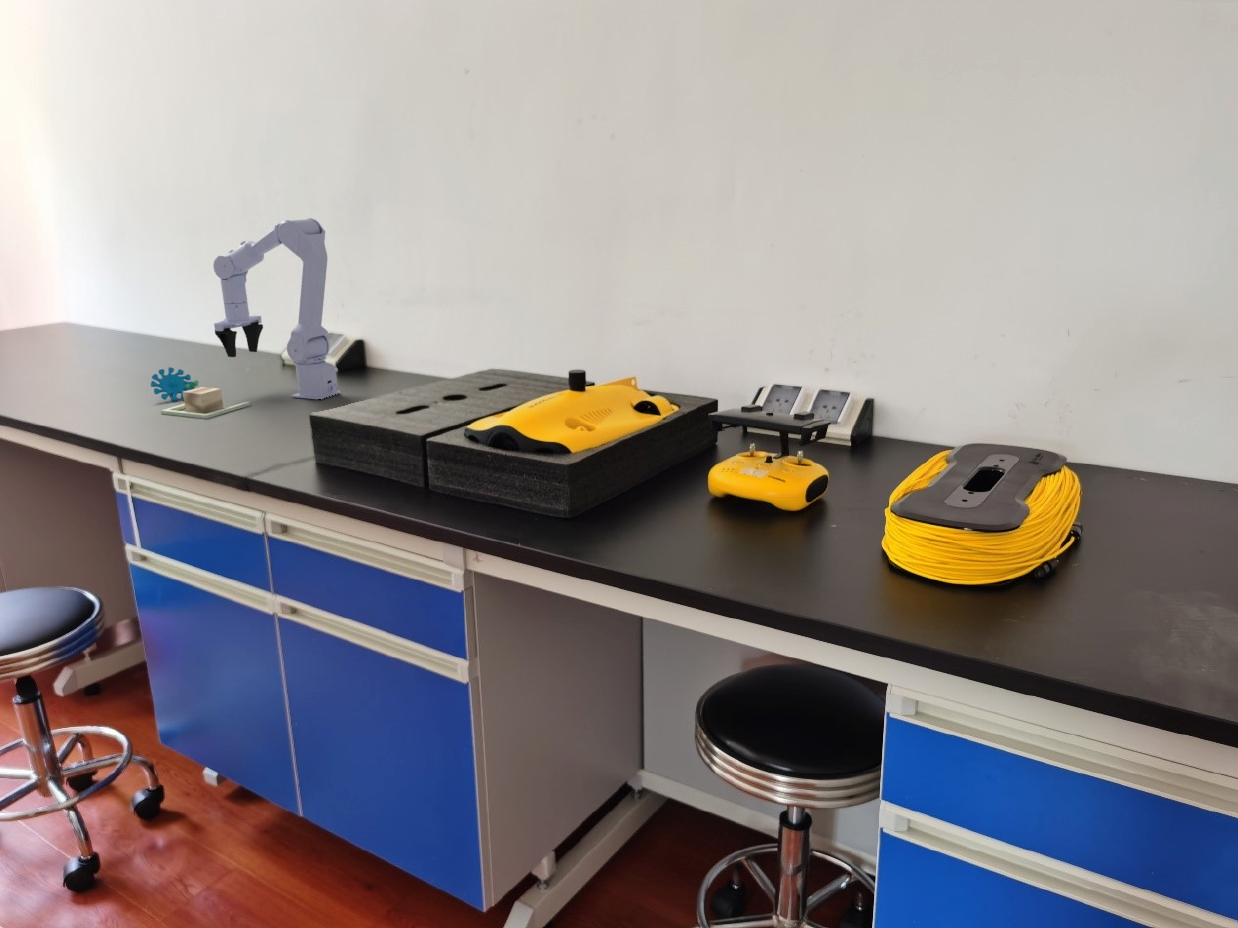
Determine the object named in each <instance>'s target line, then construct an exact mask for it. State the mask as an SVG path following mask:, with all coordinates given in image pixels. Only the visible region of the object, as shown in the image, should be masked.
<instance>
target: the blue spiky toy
mask: <svg viewBox="0 0 1238 928" xmlns="http://www.w3.org/2000/svg"><path fill="white" fill-rule="evenodd" d="M167 369H168V370H167V371H168V373H167V374H165V369H163V368H162V369H160V368H159V369H158V374H159V375H160V376H161V378H159V375H158V374H157V373H154V374H153V375H152V376H151V379H152V381H151V382H150V387H152V388H153V393H154V394H155V395H158V394H160V393H162V394H161V396H160V398H161V399H162V400H164V401H165V400H167V398H168V397H170V398H171V399H170V400H171V402H176V401H177V400H178V394H180V399H181V400H184V398H183V392H184V391H188V390H192V389H196V387H197V388H198V386H199V381H198V380H196V379H195V380H194V381H191V380H192V377H191V375H190V374H185V372H184V370H183V369H181V368H179V369H178V370H177V372H176V373H174V371H175V368H173V367H170V366H169V367H168V368H167ZM184 374H185V375H184ZM157 382H158V383H157Z"/></svg>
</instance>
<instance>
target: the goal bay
mask: <svg viewBox="0 0 1238 928" xmlns="http://www.w3.org/2000/svg"><path fill="white" fill-rule="evenodd" d="M249 406H251V402H250V401H244V402H241V403H238V404H235V405H231V406H228V407H225V408H224V407H223V409H219V410H216V411H212V412H209V413H205V414H202V413H193V412H186V411H183V410H184V409H185V404H184V403H183V404H178V405H175V406H171V407H169V408H165V409H162V410H160V414H162V415H169V416H178V417H179V416H180V417H185V418H186V417H187V418H195V419H203V420H208V419H210V418H214V417H218V416H220V415H223V414H227V413H230V412H233V411H236V410H237V411H238V410H239V409H243V408H247V407H249Z"/></svg>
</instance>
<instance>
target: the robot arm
mask: <svg viewBox="0 0 1238 928" xmlns="http://www.w3.org/2000/svg"><path fill="white" fill-rule="evenodd" d="M325 240H326V231H325V229H324V228H323V226H322V225H321V223H320V222H319V221H317V219H314V218H312V217H311V218H306V219H290V220H289V219H284V220H282V221H281V222H279V223H277V224H275V225H274V227H273V228H272V229H270V230H269V231H268V232H267V233H265V234H264V235H262V236H261V237H260V238H259V239H256V241H252V240H243V241H241V242H240V245H239V246H238V247H236V248H235V249H231V250H229V251H228V254H227V255H218V256H216V258H215V259H214V261H213V272H215V273H214V274H215V275H216V276H217V277H218V278H219V279H220V285H221V293H222V298H223V299H222V300H223V306H224V313H225V319H223V320H221V321H218V322H215V323H213V326H214V334H215V336H217V338H218V339H219V340H220V343H221V344H222V346H223V348H224V350H225V353H226V355H227V357H228V358H236V357H237V348H236V341H237V334H238V331H235V330H232V329H236V328H239V327H241V328H242V330H243V333H244V336H245V338H246V343H247V347H248V348H247V350H248V351H249V353H250V352H251V353H257V352H258V348H259V347H258V346H259V342H260V341H259V340H260V337H261V333H262V330H263V329H264V324H262V323H263V322H262V315H257V314H255V315H251V316H250V311H249V310H250V309H249V303H248V297H247V296H248V295H247V289H246V283H247V274H248V272H249V270H251V269H252V268H254V267H255V266H256V265H259V264H260V263H261V262H262V261H264V259H265V254H266V253H268V252H270V251H272V250H274V249H275V248H277V247H279V246H281V245H283V246H284V247H286V248H287V249H288V250H289V251H290V252H292V253H293V254H295V255H296V256H297V257H298V258H299V259H300V260H301V261H302V275H301V276H302V277H301V286H300V287H301V288H300V298H299V308H298V310H299V311H298V313H299V314H298V323H297V324H296V326H294V328H292V331H290V337H289V340H288V342H287V344H286V352H287V356H288V357H289V358H290V359H291V360H292V361H293V364H295V372H296V381H297V389H298V392H297V393H294V394H291V397H292V398H298V399H299V398H300V399H310V400H318V399H321V400H324V398H325V399H327V398H330V397H333V396H336V395H339V394H341V391H340V390H339V387H338V378H337V370H336V368H335V366H334V365H333V364H332V363H330V362H327V361H326V360H327V355H328V354H329V352H330V348H331V346H330V345H331V344H330V342H329V338H328V337H329V331H328V330H327V329H326V328H325V327H324V326H322V321H323V314H324V313H323V311H324V300H325V291H326V290H325V289H326V282H327V281H326V279H327V278H326V277H327V269H328V268H327V267H328V266H327V265H328V252H327V248H326V243H325ZM338 393H339V394H338ZM335 394H336V395H335ZM332 395H333V396H332ZM329 396H330V397H329ZM326 397H327V398H326Z"/></svg>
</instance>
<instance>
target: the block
mask: <svg viewBox="0 0 1238 928" xmlns="http://www.w3.org/2000/svg"><path fill="white" fill-rule="evenodd" d="M183 398H184V399H183V404H185V412H193V413H202V414H208V413H211V412H214V411H217V410H221V409H224V401H223V396H222V389H221V388H218V387H217V388H215V387H208V386H201V387H197V388H196V387H195V389H192V390H188V391H183Z"/></svg>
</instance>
